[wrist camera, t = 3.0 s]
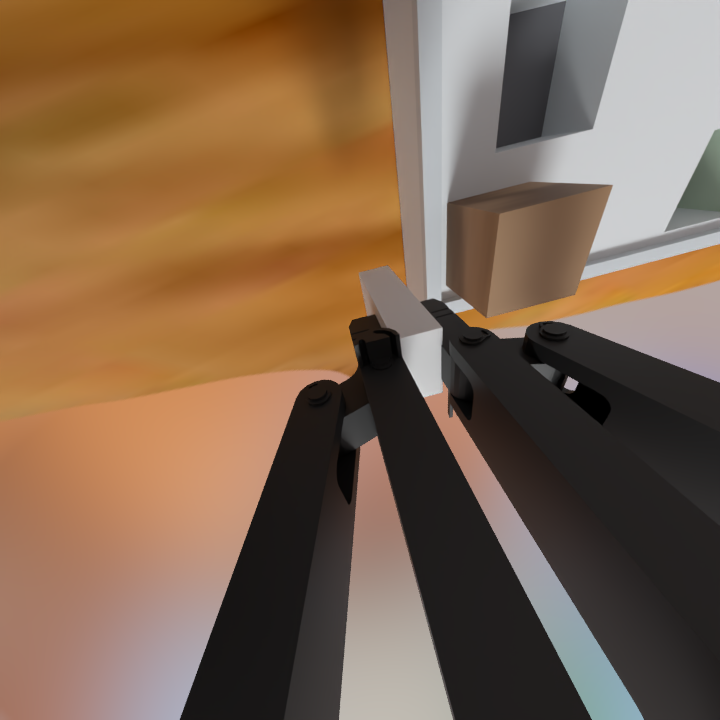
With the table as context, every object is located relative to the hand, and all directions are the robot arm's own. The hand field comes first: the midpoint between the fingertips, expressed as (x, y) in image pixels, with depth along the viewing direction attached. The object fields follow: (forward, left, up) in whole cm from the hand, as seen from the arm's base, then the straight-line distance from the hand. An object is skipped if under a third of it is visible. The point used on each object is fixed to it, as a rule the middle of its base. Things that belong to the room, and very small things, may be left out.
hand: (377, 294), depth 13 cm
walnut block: (+7, +4, -4) cm, 9 cm away
